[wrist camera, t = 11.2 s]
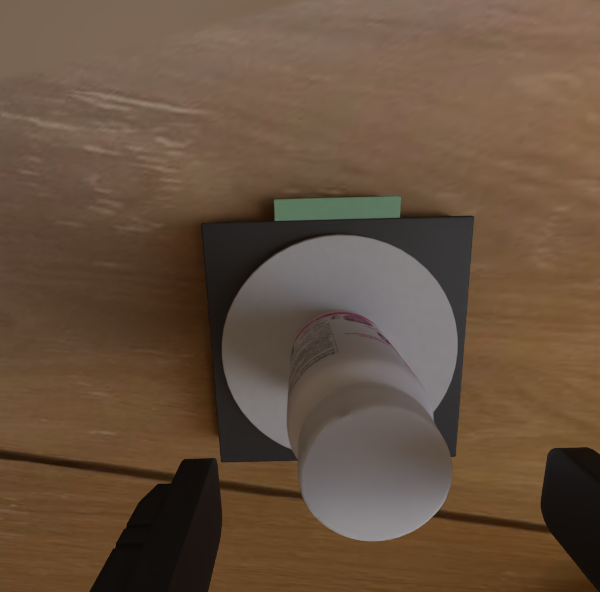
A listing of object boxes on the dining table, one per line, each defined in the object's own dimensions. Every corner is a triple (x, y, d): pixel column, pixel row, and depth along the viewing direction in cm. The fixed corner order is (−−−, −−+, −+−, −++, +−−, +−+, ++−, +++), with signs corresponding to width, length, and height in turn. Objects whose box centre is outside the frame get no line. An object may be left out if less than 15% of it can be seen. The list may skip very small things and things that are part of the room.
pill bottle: (407, 349, 17) (510, 469, 9) (343, 417, 18) (382, 586, 10) (334, 288, 16) (369, 355, 8) (270, 361, 17) (244, 491, 9)
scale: (210, 203, 18) (193, 199, 16) (455, 196, 18) (485, 192, 16) (228, 438, 21) (217, 473, 18) (440, 433, 21) (462, 467, 18)
